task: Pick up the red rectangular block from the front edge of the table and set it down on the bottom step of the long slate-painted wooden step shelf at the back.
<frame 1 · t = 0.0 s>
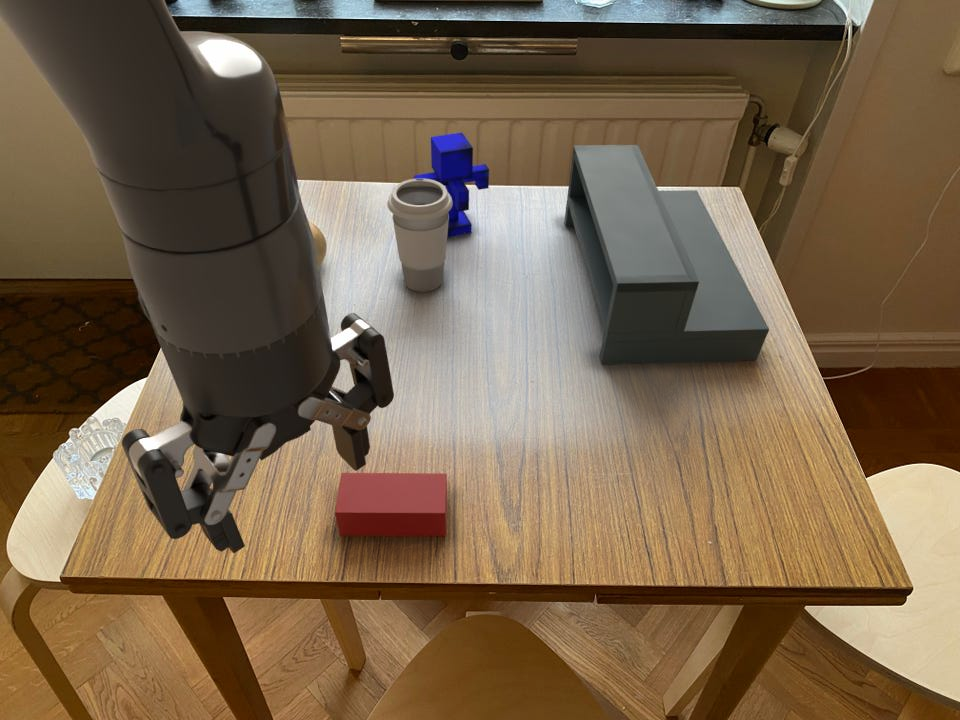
hand: (294, 498, 43), 17 cm above the table, tool pointing down, fingers open, 8 cm apart
onion: (296, 269, 86), on the table
figurine: (452, 228, 93), on the table
red rectangular block: (394, 515, 61), on the table
cup: (423, 281, 85), on the table
shelf: (650, 283, 85), on the table
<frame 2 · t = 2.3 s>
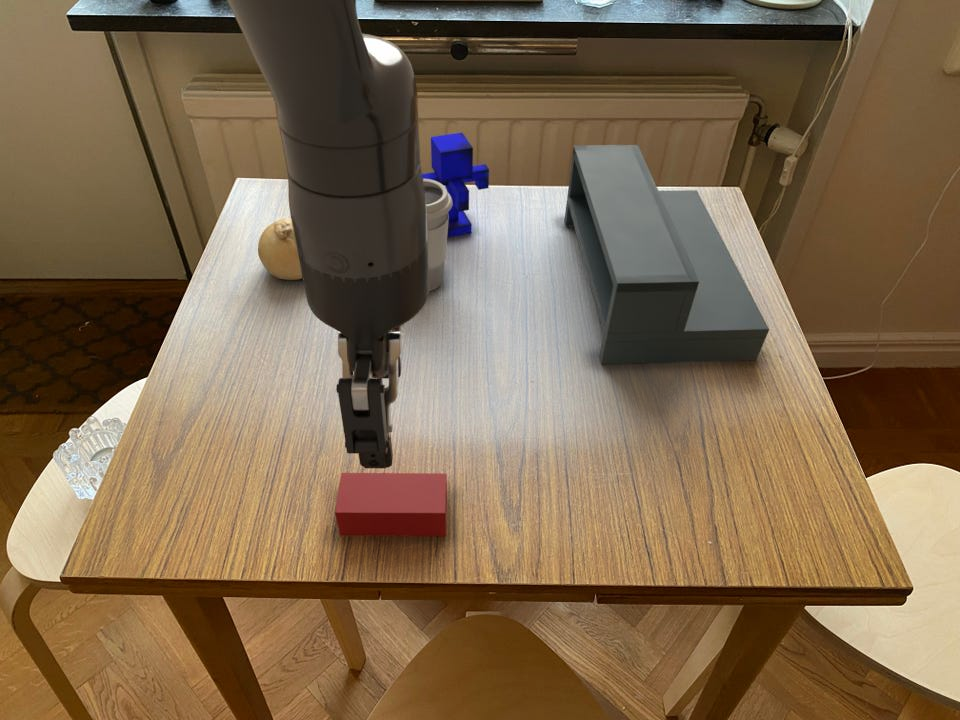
hand: (382, 416, 52), 13 cm above the table, tool pointing down, fingers open, 8 cm apart
nothing on the table moved.
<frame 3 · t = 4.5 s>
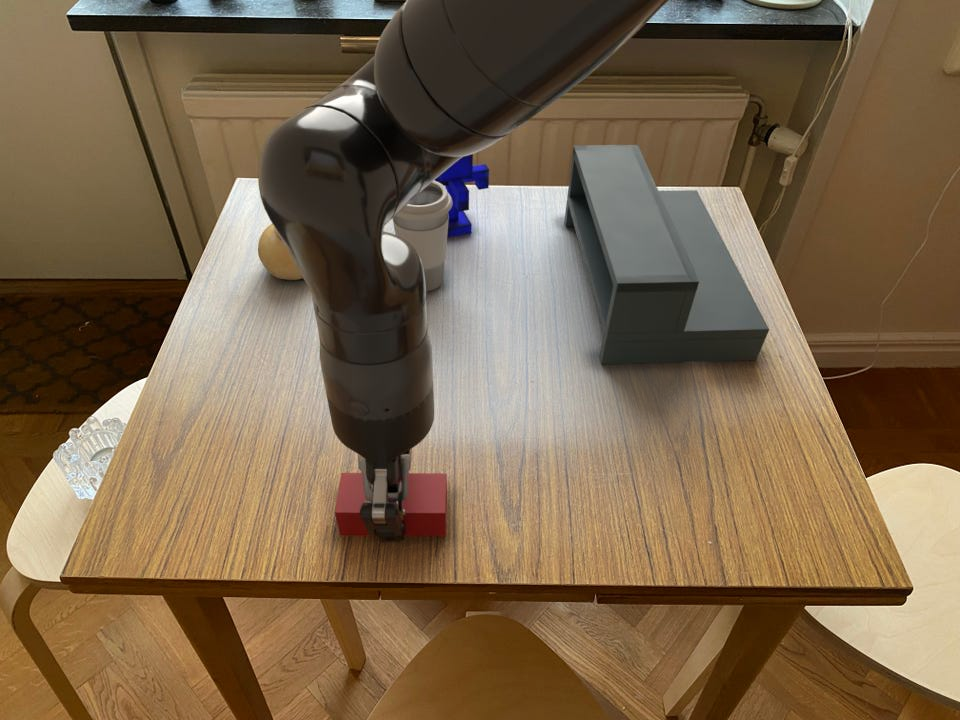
hand: (394, 512, 61), 0 cm above the table, tool pointing down, fingers closed on red rectangular block, 4 cm apart
red rectangular block: (394, 515, 61), on the table, touching gripper
everything else where it was.
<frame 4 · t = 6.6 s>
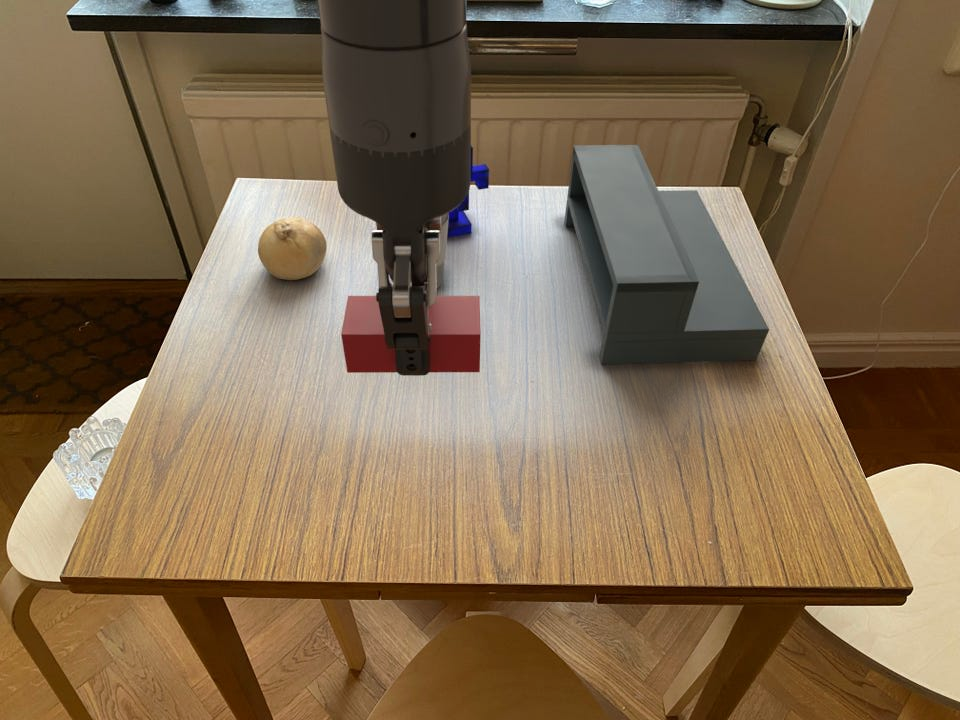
hand: (415, 347, 49), 19 cm above the table, tool pointing down, fingers closed on red rectangular block, 4 cm apart
red rectangular block: (414, 352, 50), point 18 cm above the table, touching gripper
everything else where it was.
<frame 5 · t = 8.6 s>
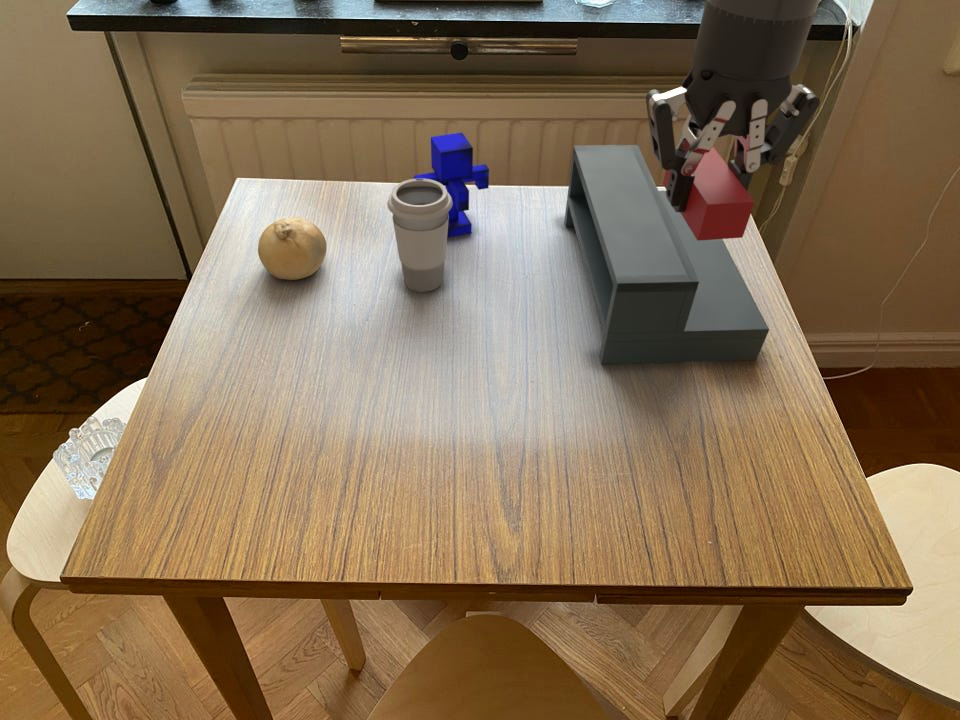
hand: (702, 205, 62), 20 cm above the table, tool pointing down, fingers closed on red rectangular block, 4 cm apart
red rectangular block: (700, 209, 62), point 19 cm above the table, touching gripper
everything else where it was.
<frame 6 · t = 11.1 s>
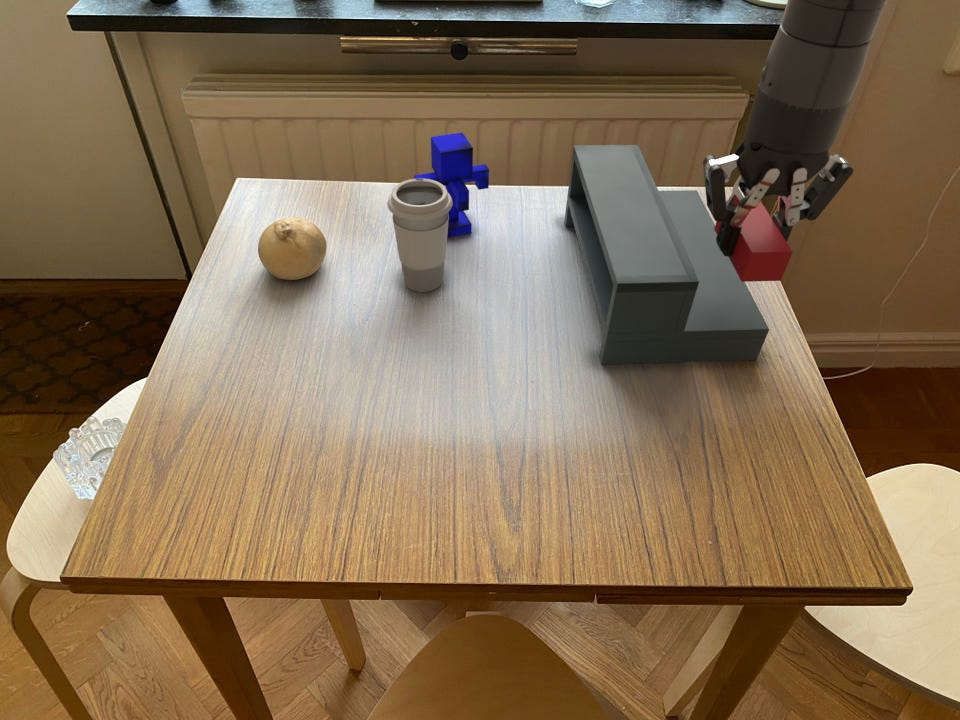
hand: (747, 250, 72), 11 cm above the table, tool pointing down, fingers closed on red rectangular block, 4 cm apart
red rectangular block: (746, 253, 72), point 10 cm above the table, touching gripper
everything else where it was.
when the fingers open (5 cm above the table, at t = 12.9 s): red rectangular block stays where it is, resting on shelf.
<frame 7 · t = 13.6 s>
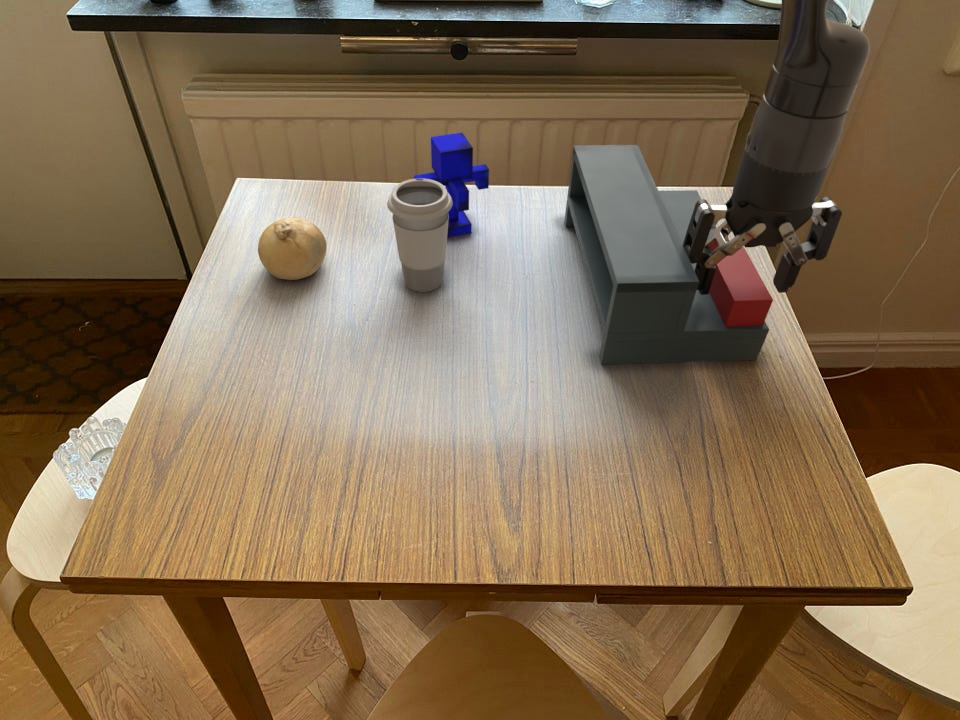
hand: (740, 288, 75), 6 cm above the table, tool pointing down, fingers open, 8 cm apart
red rectangular block: (730, 298, 76), point 4 cm above the table, touching shelf
everything else where it was.
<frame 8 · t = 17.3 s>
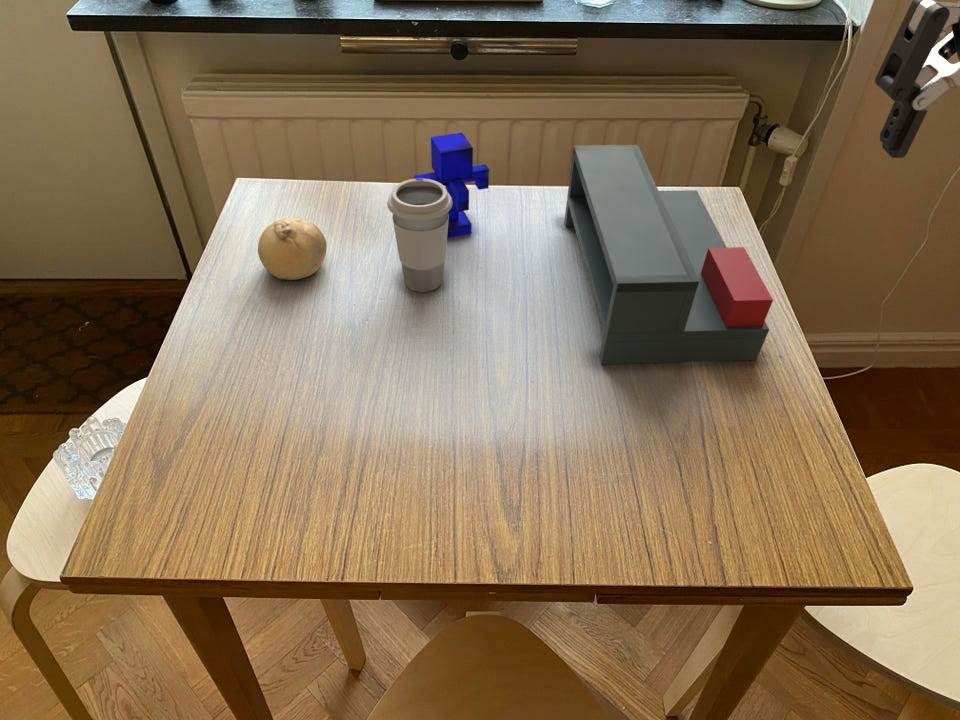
hand: (948, 152, 52), 28 cm above the table, tool pointing down, fingers open, 8 cm apart
nothing on the table moved.
at the end: red rectangular block inside the target area on the shelf (0.4 cm from its centre), point 4.5 cm above the shelf's base; the gripper is holding nothing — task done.
